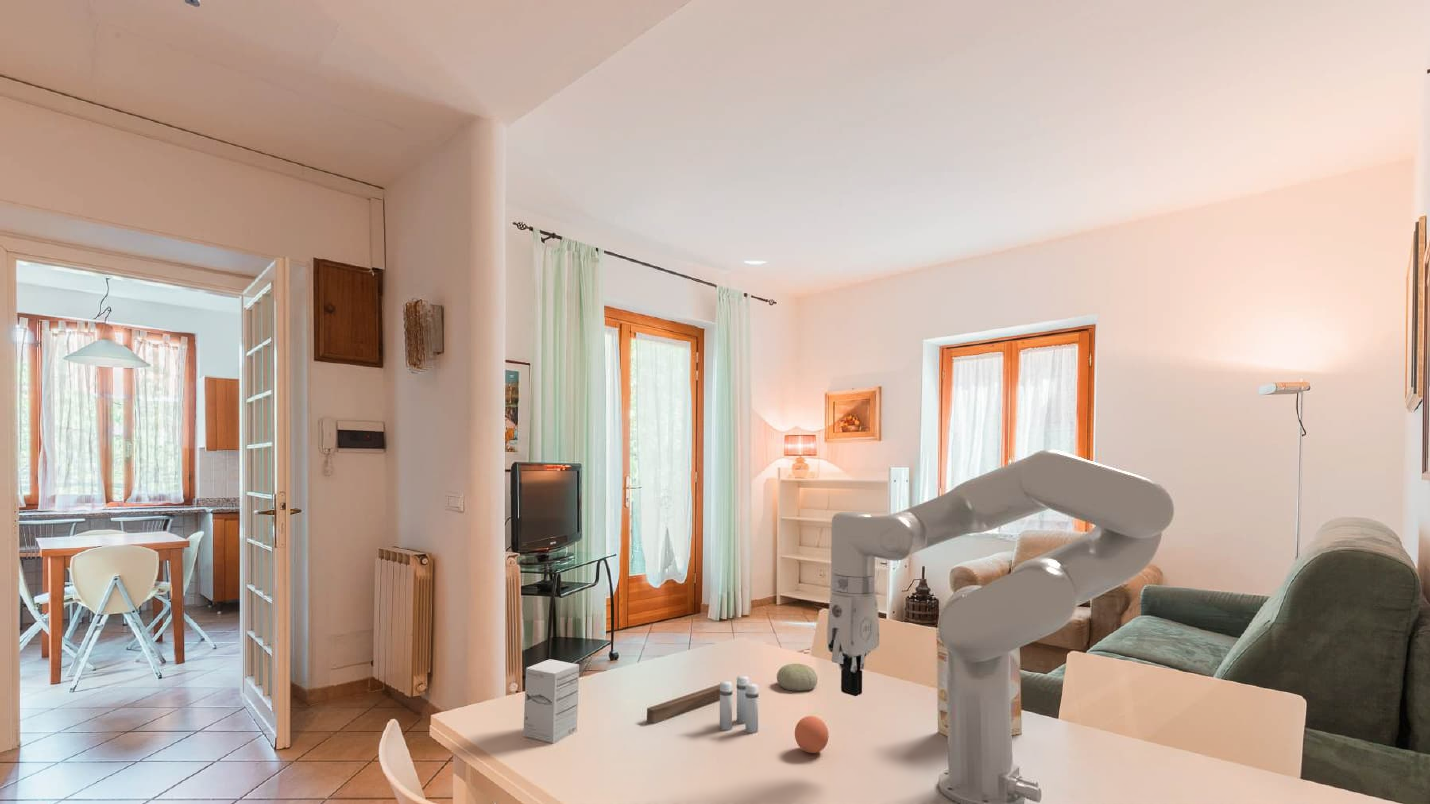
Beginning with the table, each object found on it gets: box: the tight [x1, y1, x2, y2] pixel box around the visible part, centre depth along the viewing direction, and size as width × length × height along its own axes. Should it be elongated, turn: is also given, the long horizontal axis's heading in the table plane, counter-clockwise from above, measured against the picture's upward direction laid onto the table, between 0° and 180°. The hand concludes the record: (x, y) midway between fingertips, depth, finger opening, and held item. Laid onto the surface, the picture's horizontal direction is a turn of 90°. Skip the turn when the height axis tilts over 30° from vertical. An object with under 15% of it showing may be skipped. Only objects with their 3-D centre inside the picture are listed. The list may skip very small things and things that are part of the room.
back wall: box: [646, 683, 720, 725], centre depth 144 cm, size 2×22×2 cm, turn 137°
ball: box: [794, 715, 830, 754], centre depth 123 cm, size 6×6×6 cm
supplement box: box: [522, 658, 580, 745], centre depth 131 cm, size 7×7×13 cm
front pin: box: [745, 683, 759, 734], centre depth 133 cm, size 2×2×8 cm
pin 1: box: [719, 680, 733, 731], centre depth 134 cm, size 2×2×8 cm
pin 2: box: [736, 675, 750, 724], centre depth 138 cm, size 2×2×8 cm
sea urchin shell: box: [776, 663, 819, 692], centre depth 160 cm, size 9×8×8 cm
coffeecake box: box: [935, 628, 1023, 738], centre depth 133 cm, size 15×7×20 cm, turn 112°
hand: (851, 693), depth 118 cm, fingers closed
